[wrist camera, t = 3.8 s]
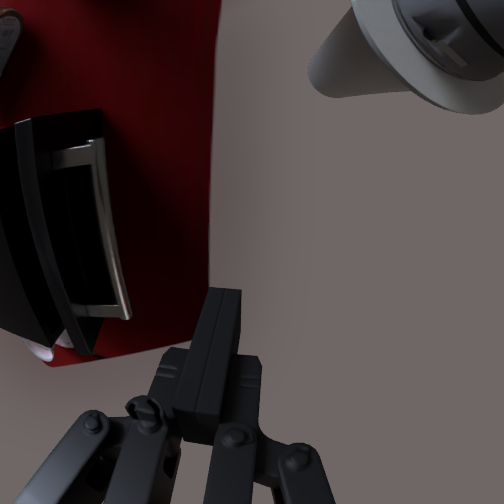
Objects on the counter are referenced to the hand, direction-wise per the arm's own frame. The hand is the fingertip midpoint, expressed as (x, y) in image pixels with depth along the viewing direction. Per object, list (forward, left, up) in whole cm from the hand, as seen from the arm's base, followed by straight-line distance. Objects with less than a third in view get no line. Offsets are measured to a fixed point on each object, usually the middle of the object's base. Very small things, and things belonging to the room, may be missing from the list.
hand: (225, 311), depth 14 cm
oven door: (+15, 0, -16) cm, 22 cm away
